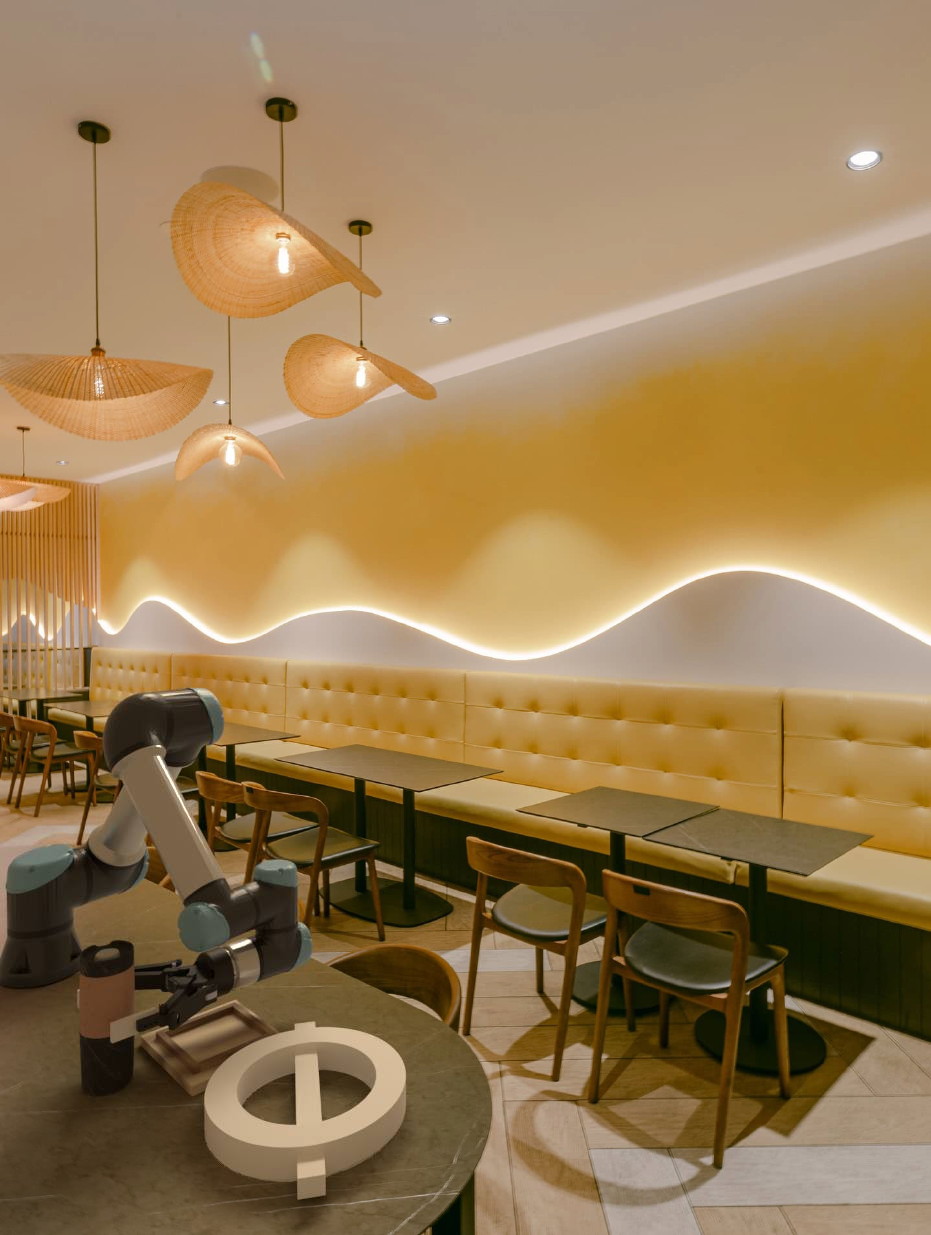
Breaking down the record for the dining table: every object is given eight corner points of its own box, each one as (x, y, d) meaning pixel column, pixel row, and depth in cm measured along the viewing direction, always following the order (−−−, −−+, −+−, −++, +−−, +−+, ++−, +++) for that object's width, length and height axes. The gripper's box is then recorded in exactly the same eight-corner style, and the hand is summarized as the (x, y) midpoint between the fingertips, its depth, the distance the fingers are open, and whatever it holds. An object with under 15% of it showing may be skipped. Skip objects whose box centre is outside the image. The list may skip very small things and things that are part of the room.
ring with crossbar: (312, 1218, 92) (312, 1178, 91) (160, 1133, 106) (160, 1099, 106) (443, 1093, 115) (443, 1061, 115) (304, 1038, 130) (304, 1010, 130)
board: (140, 1045, 127) (140, 1029, 127) (235, 1008, 139) (235, 994, 139) (192, 1096, 114) (192, 1079, 114) (292, 1050, 126) (292, 1035, 126)
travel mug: (113, 1100, 113) (113, 963, 113) (67, 1093, 115) (67, 959, 114) (145, 1069, 120) (145, 941, 120) (102, 1064, 122) (101, 937, 122)
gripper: (264, 1019, 122) (126, 1076, 107) (192, 967, 140) (65, 1009, 125) (264, 971, 122) (126, 1021, 107) (192, 925, 140) (65, 963, 125)
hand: (93, 1015), depth 116 cm, fingers open, 13 cm apart
